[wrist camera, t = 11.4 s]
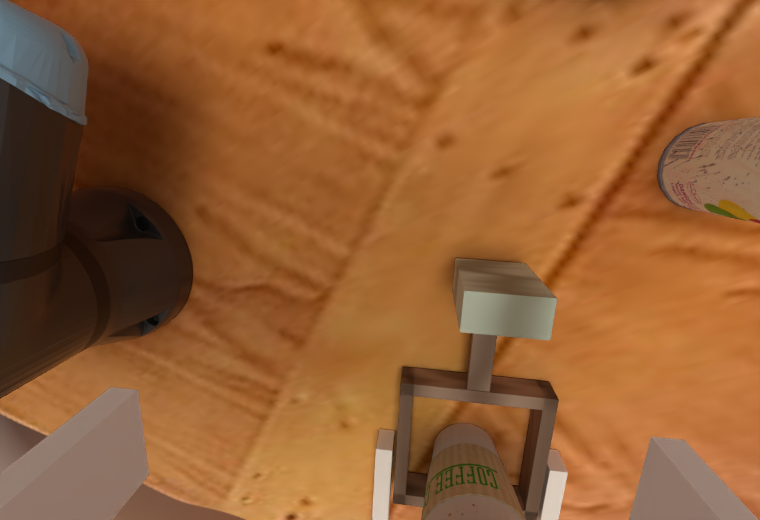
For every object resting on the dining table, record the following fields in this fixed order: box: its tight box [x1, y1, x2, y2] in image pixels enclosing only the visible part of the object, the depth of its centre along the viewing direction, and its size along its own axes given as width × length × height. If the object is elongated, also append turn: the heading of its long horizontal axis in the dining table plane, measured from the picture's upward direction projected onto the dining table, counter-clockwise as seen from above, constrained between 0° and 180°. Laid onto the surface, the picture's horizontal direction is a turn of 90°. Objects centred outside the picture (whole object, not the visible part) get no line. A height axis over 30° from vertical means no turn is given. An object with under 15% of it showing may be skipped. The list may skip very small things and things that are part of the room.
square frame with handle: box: [393, 258, 559, 520], centre depth 35 cm, size 14×25×10 cm, turn 177°
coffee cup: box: [421, 423, 526, 520], centre depth 34 cm, size 10×10×15 cm
